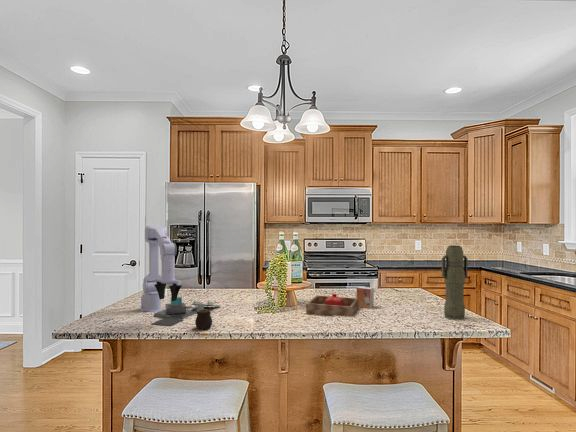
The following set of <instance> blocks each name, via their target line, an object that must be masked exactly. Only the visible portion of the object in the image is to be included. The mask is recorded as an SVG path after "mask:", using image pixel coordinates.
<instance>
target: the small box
mask: <svg viewBox="0 0 576 432" xmlns="http://www.w3.org/2000/svg"><path fill="white" fill-rule="evenodd" d="M374 291H375V287H371V286H370V287H369V286H357V287H356V295H355V296H356V297H355V298H359V308H362V309H372V308H373V307H374V301H375V299H374V295H375V294H374V293H375V292H374Z"/></svg>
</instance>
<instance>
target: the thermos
mask: <svg viewBox="0 0 576 432" xmlns="http://www.w3.org/2000/svg"><path fill="white" fill-rule="evenodd" d="M468 261H469V260H468V257H467V256H466V255H465V254H464V249H463V247H462V246H460V245H456V244H455V245H452V244H451V245H449V246H447V248H446V250H445V255H443V256H442V257H441V277H442V278H444V284H445V302H444V306H443V310H444V311H443V314H444V318H446V319H448V320H455V321H459V320H460V321H461V320H464V319H465V316H466V306H465V304H464V303H465V302H464V300H465V299H464V295H465V294H464V293H465V292H464V289H465V287H464V286H465V283H466V282H465V281H466V279H467V278H468V274H469V273H468V263H469V262H468Z"/></svg>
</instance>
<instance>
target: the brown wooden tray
mask: <svg viewBox="0 0 576 432" xmlns="http://www.w3.org/2000/svg"><path fill="white" fill-rule="evenodd" d="M331 296H332V295H331ZM331 296H328V295H316V296H314V297H313V298H312V299H310V300H308V302H306V303H305V313H306V314H307V315H319V316H327V315H328V316H329V317H334V316H343V317H353V316H354V314H355V312H357V310H359V308H360V307H359V298H356V297H344V296H342V297H341V296H339V297H340V298H342V299H343V301H344V305H345V306H337V305H324V304H325V300H326V299H327V298H328V297H331Z"/></svg>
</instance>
